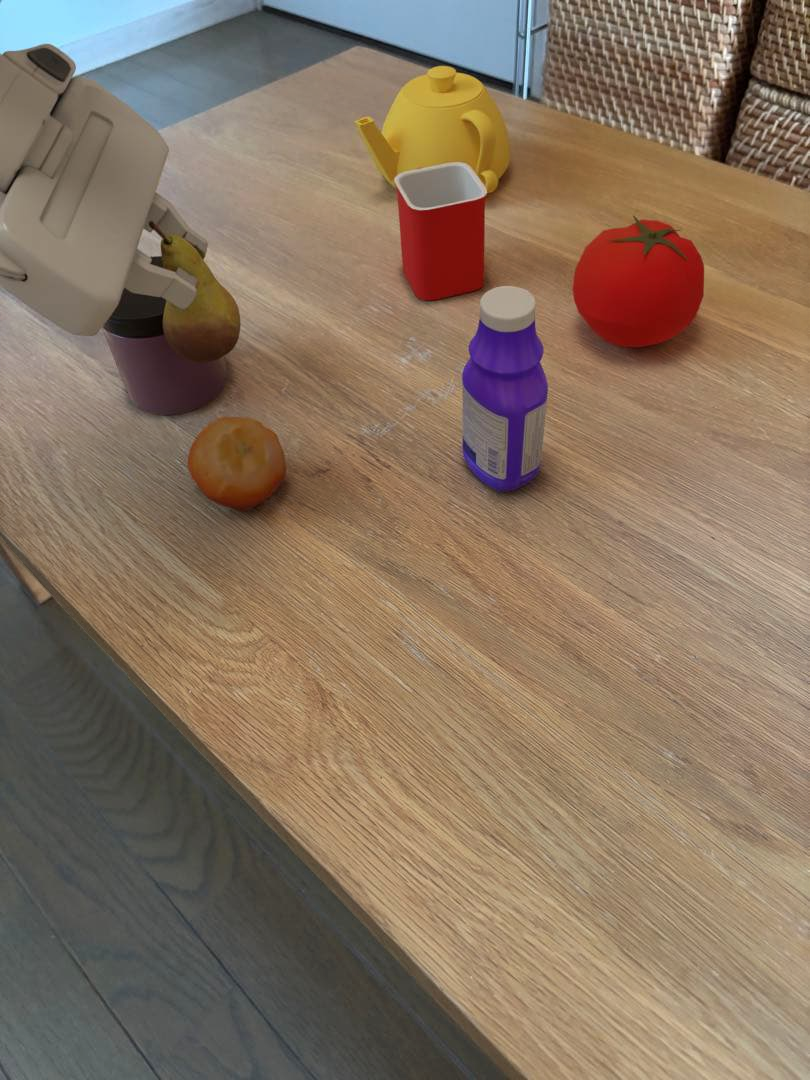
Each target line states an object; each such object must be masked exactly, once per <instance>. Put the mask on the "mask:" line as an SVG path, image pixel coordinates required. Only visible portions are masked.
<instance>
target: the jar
mask: <svg viewBox="0 0 810 1080" xmlns="http://www.w3.org/2000/svg"><path fill="white" fill-rule="evenodd" d="M101 330H102V331H103V334H104V338H105V340H106V342H107V344H108V347H109V349H110V352H111V354H112V357H113V359H114V362H115V365H116V367H117V370H118V372H119V374H120V377H121V380H122V383H123V385H124V387H125V391H126V393H127V395H128V398H129V399H130V402H132V404H133V405H134V406H136V408H138V409H140V410H141V411H144V412H146V413H149V414H153V415H158V416H159V415H160V416H174V415H181V414H185V413H189V412H192V411H195V410H198V409H200V408H201V407H204V406H205V405H207V404H209V403H210V402H212V401H213V400H214V399H216V397H218V396H219V395H220V394H221V393H222V391H223V390H224V388H225V387H226V384H227V382H228V376H229V375H228V374H229V372H228V369H227V365H226V361H225V356H223V357H221V358H220V359H217V360H214V361H211V362H207V363H193V362H190V361H187V360H186V359H184V358H182V357H181V356H179V355H178V354H177V353H176V352H175V351H174V350H173V349H172V348H171V347H170V345H169V344H168V342H167V340H166V338H165V334H164V333H161V334H157V335H152V336H144V337H132V336H124V335H119V334H116V333H114V332H111V331H110V330H108V329H106V328H105V327H104V326H103V327H102V328H101Z"/></svg>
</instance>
